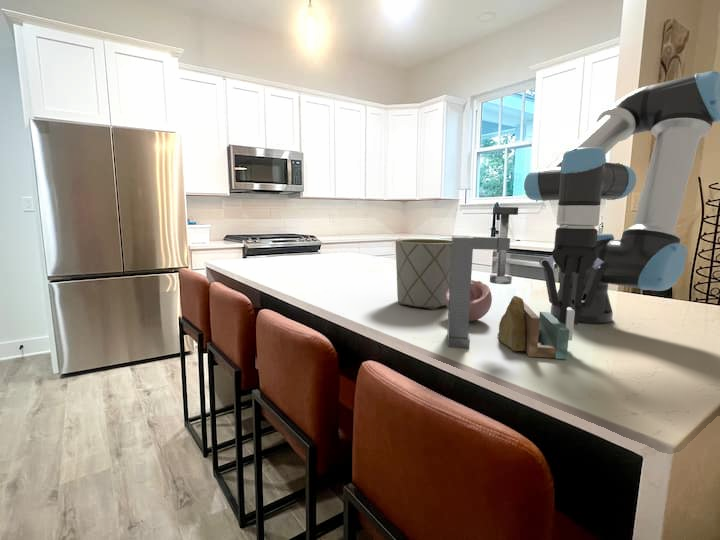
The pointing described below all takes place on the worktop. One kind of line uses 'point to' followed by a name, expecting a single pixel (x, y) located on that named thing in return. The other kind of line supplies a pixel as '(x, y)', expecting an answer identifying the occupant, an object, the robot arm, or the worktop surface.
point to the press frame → (465, 284)
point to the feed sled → (545, 335)
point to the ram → (500, 276)
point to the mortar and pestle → (476, 300)
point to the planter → (423, 271)
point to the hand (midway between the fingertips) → (566, 338)
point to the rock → (513, 325)
